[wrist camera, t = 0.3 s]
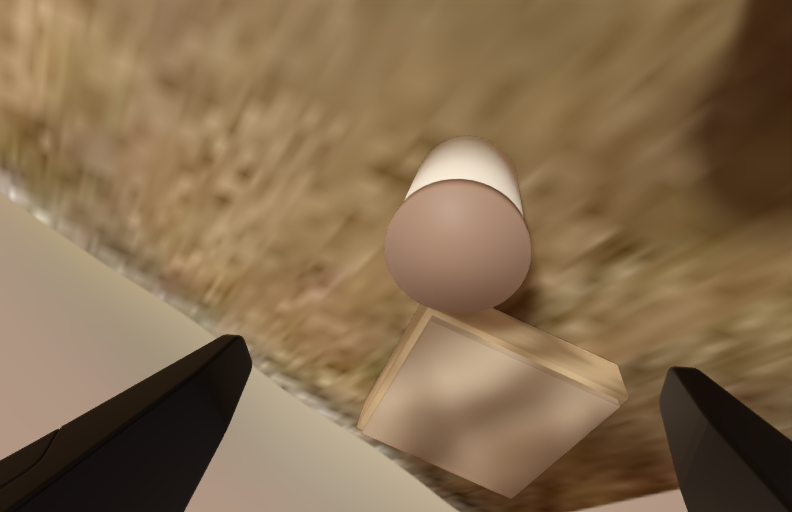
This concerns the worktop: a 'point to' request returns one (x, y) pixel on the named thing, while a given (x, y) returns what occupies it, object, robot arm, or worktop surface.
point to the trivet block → (488, 397)
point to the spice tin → (460, 229)
